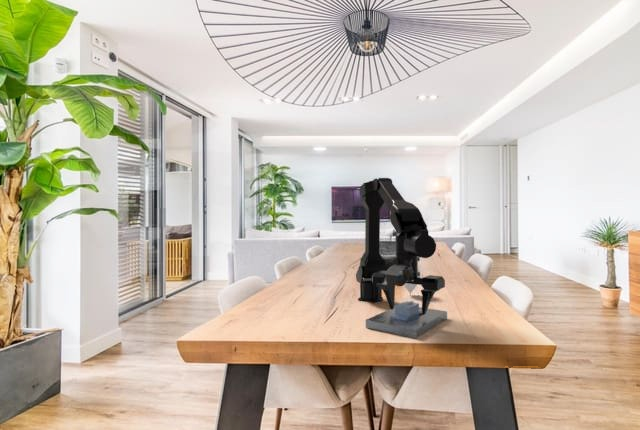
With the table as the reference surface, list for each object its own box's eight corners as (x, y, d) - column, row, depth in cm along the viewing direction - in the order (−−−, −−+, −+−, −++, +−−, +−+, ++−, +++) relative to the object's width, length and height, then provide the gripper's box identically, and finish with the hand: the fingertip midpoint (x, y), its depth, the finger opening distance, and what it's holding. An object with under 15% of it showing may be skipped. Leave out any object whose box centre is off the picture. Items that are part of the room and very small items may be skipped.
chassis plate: (416, 338, 87) (416, 330, 87) (365, 327, 95) (365, 320, 95) (447, 318, 102) (447, 311, 102) (401, 310, 111) (401, 304, 111)
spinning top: (425, 295, 131) (425, 261, 131) (411, 298, 126) (411, 263, 126) (408, 291, 137) (408, 259, 137) (394, 294, 132) (394, 261, 132)
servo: (392, 326, 96) (391, 304, 96) (408, 317, 104) (408, 297, 104) (406, 329, 94) (405, 307, 94) (422, 320, 101) (421, 299, 101)
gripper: (360, 254, 98) (361, 313, 98) (427, 259, 87) (428, 325, 87) (381, 251, 107) (382, 304, 107) (445, 254, 95) (446, 314, 95)
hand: (407, 311), depth 99 cm, fingers open, 9 cm apart
